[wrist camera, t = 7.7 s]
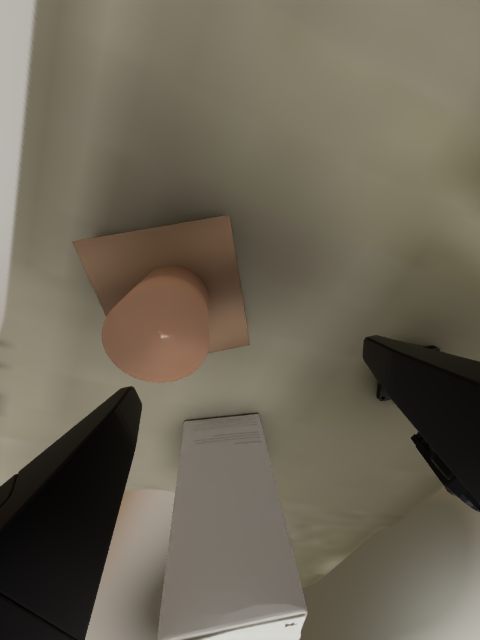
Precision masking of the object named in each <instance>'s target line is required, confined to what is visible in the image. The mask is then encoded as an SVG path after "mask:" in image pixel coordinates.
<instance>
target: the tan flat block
mask: <svg viewBox="0 0 480 640" xmlns="http://www.w3.org/2000/svg"><path fill="white" fill-rule="evenodd" d="M72 243H73V245H74V247H75V249H76V251H77V254H78V256H79V258H80V260H81V262H82V264H83V267H84V269H85V271H86V273H87V275H88V278H89V280H90V282H91V284H92V286H93V289H94V291H95V293H96V295H97V297H98V299H99V302H100V304H101V306H102V308H103V310H104V313H105V315H106V316H107V315H108V313H109V312H110V311H111V310H112V309H113V308H114V307H115V306H116V305H117V304H118V303H119V302H120V301H121V300H122V299H123V298H124V297H125V296H126V295H127V294H128V293H129V292H130V291H131V290H132V289H133V288H134V287H135V286H136V285H137V284H138V283H139V282H140V281H141V280H142V279H143V278H144V277H145V276H146V275H148V274H149V273H150V272H151V271H153V270H155V269H157V268H159V267H163V266H179V267H183V268H186V269H188V270H190V271H192V272H193V273H195V274H196V275H197V276H198V277H199V278H200V279H201V280H202V281H203V283H204V284H205V286H206V288H207V291H208V294H209V349H208V352H207V353H212V352H217V351H222V350H227V349H232V348H237V347H242V346H247V345H250V342H249V336H248V329H247V323H246V317H245V310H244V304H243V298H242V291H241V285H240V279H239V272H238V266H237V260H236V253H235V247H234V241H233V235H232V228H231V222H230V216H229V215H224V216H218V217H212V218H206V219H201V220H195V221H189V222H183V223H177V224H171V225H166V226H160V227H154V228H148V229H142V230H137V231H131V232H125V233H119V234H113V235H107V236H102V237H96V238H90V239H84V240H79V241H73V242H72Z"/></svg>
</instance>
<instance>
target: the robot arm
mask: <svg viewBox="0 0 480 640" xmlns="http://www.w3.org/2000/svg"><path fill="white" fill-rule="evenodd" d="M363 359H364V361H365V363H366V364H367V366H368V367H369V369H370V370H371V371H372V373H373V374H374V376H375V377H376V379H377V380H378V382H379V387H378V394H377V398H378V399H379V400H380V401H386V400H390V399H392V401H393V402H394V403H395V404H396V405H397V407H398V408H399V409H400V410H401V411H402V412H403V414H404V415H405V416H406V417H407V418H408V420H409V421H410V422H411V423H412V424H413V426H414V427H415V428H416V429H417V430H418V433H417V434H416V435H415V434H414V435H413V436H412V437H411V439H412V441H413V442H414V444H415V445H416V448H417V449H418V450H419V452H420V453H421V455H422V456H423V457H424V459H425V460H426V462H427V463H428V464H429V466H430V467H431V468H432V470H433V471H434V473H435V474H436V475H437V477H438V478H439V480H440V481H441V482H442V484H443V485H444V486H445V488H446V490H447V491H448V492H449V493H450V494H451V495H454V496H457V497H458V498H460V499H461V500H462V501H463V502H465V503H466V504H467V505H469V506H470V507H471V508H473V509H475V510H476V511H479V512H480V362H479V361H475V360H471V359H467V358H463V357H459V356H455V355H451V354H448V353H444V352H440V349H439V348H438V347H436V346H431V347H427V348H424V347H420V346H416V345H413V344H409V343H405V342H401V341H397V340H393V339H389V338H385V337H381V336H377V335H374V336H369V337H366V338H365V339H364V344H363ZM141 411H142V403H141V401H140V398H139V396H138V394H137V392H136V390H135V388H134V387H132V386H130V387H125V388H121V389H120V390H118V391H117V392H116V393H115V394H113V395H112V396H111V397H110V398H108V399H107V400H106V401H105V402H104V403H102V404H101V405H100V406H99V407H97V408H96V409H95V410H94V411H93V412H91V413H90V414H89V415H88V416H86V417H85V418H84V419H83V420H81V421H80V422H79V423H78V424H77V425H75V426H74V427H73V428H72V429H70V430H69V431H68V432H67V433H66V434H64V435H63V436H62V437H61V438H59V439H58V440H57V441H56V442H54V443H53V444H52V445H51V446H50V447H48V448H47V449H46V450H45V451H43V452H42V453H41V454H40V455H39V456H37V457H36V458H35V459H34V460H32V461H31V462H30V463H29V464H27V465H26V466H25V467H24V468H23V469H21V470H20V471H19V472H18V474H15V475H14V476H13V477H11V478H10V479H9V480H8V481H7V482H5V483H4V484H3V485H2V486H0V640H85V636H86V633H87V629H88V625H89V622H90V618H91V614H92V610H93V607H94V603H95V599H96V595H97V592H98V588H99V584H100V580H101V576H102V573H103V569H104V565H105V562H106V558H107V554H108V550H109V546H110V542H111V539H112V535H113V531H114V528H115V524H116V520H117V516H118V513H119V509H120V505H121V501H122V498H123V494H124V490H125V486H126V483H127V479H128V475H129V471H130V468H131V464H132V460H133V456H134V452H135V448H136V443H137V437H138V430H139V424H140V417H141Z"/></svg>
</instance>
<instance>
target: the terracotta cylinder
mask: <svg viewBox="0 0 480 640" xmlns="http://www.w3.org/2000/svg"><path fill="white" fill-rule="evenodd" d="M102 342H103V346H104V348H105V351H106V353H107V355H108V356H109V358H110V359H111V360H112V362H113V363H114V364H115V365H116V366H117V367H118V368H119V369H121V370H122V371H123V372H125V373H127V374H128V375H130V376H132V377H134V378H137V379H140V380H144V381H148V382H158V383H162V382H171V381H176V380H179V379H182V378H184V377H186V376H188V375H190V374H191V373H193V372H194V371H195V370H196V369H198V367H199V366H200V365H201V364H202V363H203V361H204V360H205V357H206V355H207V352H208V349H209V294H208V291H207V288H206V286H205V284H204V283H203V281H202V280H201V279H200V278H199V277H198V276H197V275H196V274H195V273H193V272H192V271H190V270H188V269H186V268H183V267H179V266H163V267H159V268H157V269H155V270H153V271H151V272H150V273H149V274H148V275H146V276H145V277H144V278H143V279H142V280H141V281H140V282H139V283H138V284H137V285H136V286H135V287H134V288H133V289H132V290H131V291H130V292H129V293H128V294H127V295H126V296H125V297H124V298H123V299H122V300H121V301H120V302H119V303H118V304H117V305H116V306H115V307H114V308H113V309H112V310H111V311H110V312H109V313H108V315H107V316H106V319H105V321H104V323H103V327H102Z"/></svg>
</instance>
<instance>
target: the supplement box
mask: <svg viewBox="0 0 480 640" xmlns="http://www.w3.org/2000/svg"><path fill="white" fill-rule="evenodd" d="M306 616H307V608H306V604H305V600H304V596H303V592H302V587H301V583H300V579H299V575H298V571H297V567H296V563H295V559H294V555H293V551H292V547H291V543H290V539H289V535H288V531H287V526H286V522H285V518H284V514H283V510H282V506H281V502H280V498H279V494H278V490H277V486H276V482H275V478H274V474H273V470H272V466H271V462H270V457H269V453H268V449H267V445H266V441H265V437H264V433H263V429H262V425H261V421H260V417H259V414H252V415H243V416H233V417H223V418H213V419H204V420H193V421H185V422H184V425H183V434H182V442H181V450H180V458H179V467H178V475H177V483H176V491H175V499H174V508H173V515H172V523H171V531H170V539H169V548H168V555H167V564H166V572H165V580H164V587H163V596H162V604H161V612H160V621H159V629H158V638H157V640H299V639H300V637H301V628H302V626H303V623H304V621H305V618H306Z"/></svg>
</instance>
